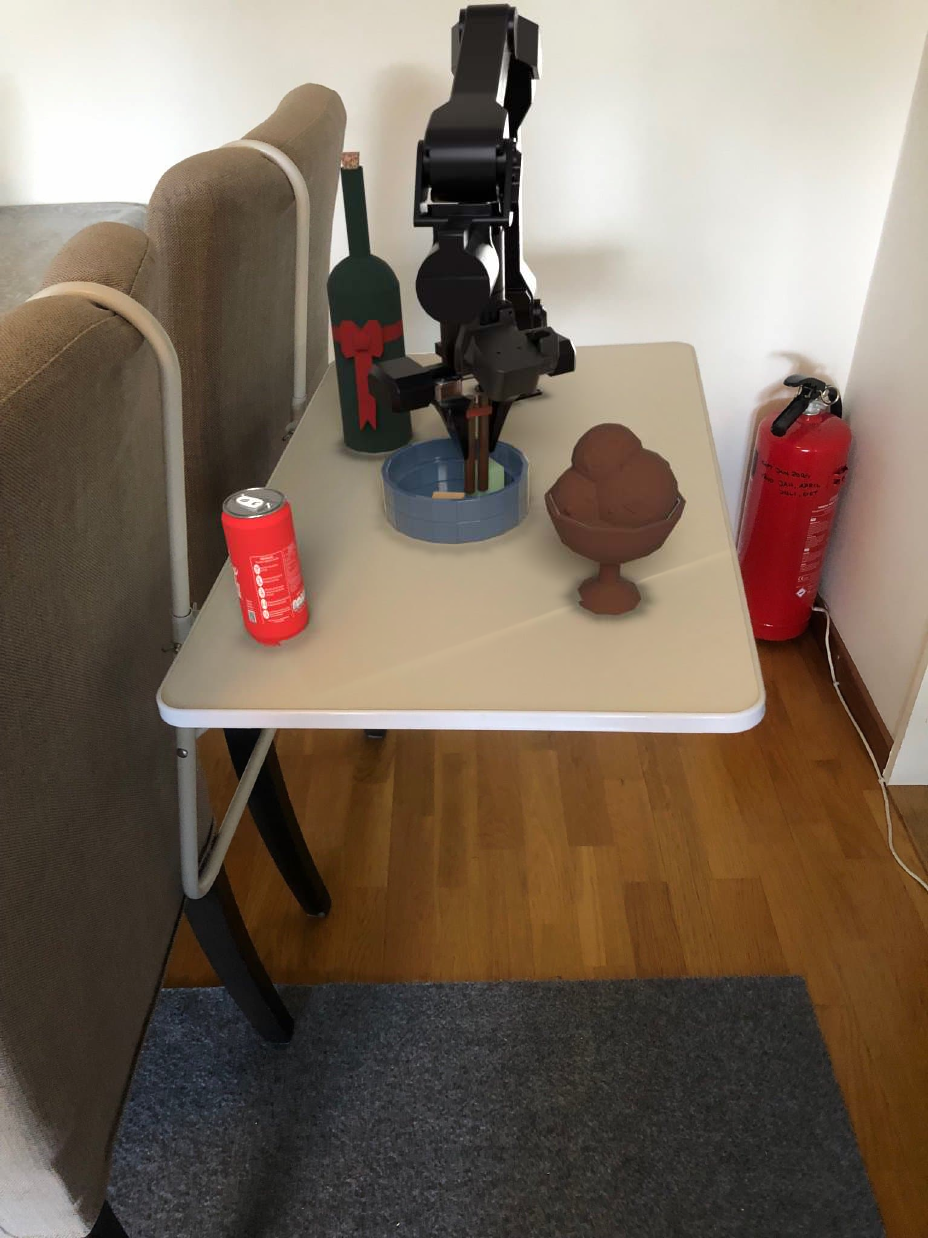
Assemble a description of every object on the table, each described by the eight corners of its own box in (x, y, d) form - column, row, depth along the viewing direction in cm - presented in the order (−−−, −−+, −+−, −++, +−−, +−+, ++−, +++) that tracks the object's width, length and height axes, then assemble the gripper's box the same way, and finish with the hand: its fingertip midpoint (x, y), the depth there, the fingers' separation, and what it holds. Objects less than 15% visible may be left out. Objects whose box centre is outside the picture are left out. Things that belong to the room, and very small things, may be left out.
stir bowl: (363, 501, 94) (358, 456, 91) (484, 467, 99) (483, 424, 96) (424, 564, 84) (421, 516, 81) (556, 523, 89) (557, 476, 86)
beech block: (435, 518, 89) (433, 491, 87) (466, 520, 89) (464, 492, 87) (429, 534, 87) (428, 506, 85) (461, 535, 86) (459, 507, 85)
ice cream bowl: (524, 615, 76) (523, 450, 68) (574, 552, 84) (580, 396, 76) (646, 648, 72) (663, 475, 63) (688, 577, 80) (708, 416, 71)
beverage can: (281, 656, 73) (256, 524, 66) (234, 637, 75) (204, 508, 68) (323, 623, 77) (303, 494, 70) (276, 606, 79) (252, 480, 72)
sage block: (464, 490, 94) (463, 463, 92) (489, 482, 95) (488, 456, 93) (478, 501, 92) (477, 474, 90) (504, 494, 93) (504, 467, 91)
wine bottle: (336, 467, 101) (296, 166, 83) (349, 429, 109) (316, 147, 91) (407, 466, 100) (383, 163, 83) (415, 427, 108) (395, 144, 91)
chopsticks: (461, 489, 90) (461, 394, 84) (486, 484, 91) (487, 390, 85) (466, 495, 89) (466, 400, 83) (490, 490, 90) (492, 395, 84)
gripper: (413, 333, 69) (426, 515, 78) (616, 291, 76) (606, 463, 85) (356, 297, 77) (374, 466, 86) (544, 262, 84) (542, 421, 93)
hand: (476, 454), depth 88 cm, fingers closed on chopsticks, 2 cm apart
